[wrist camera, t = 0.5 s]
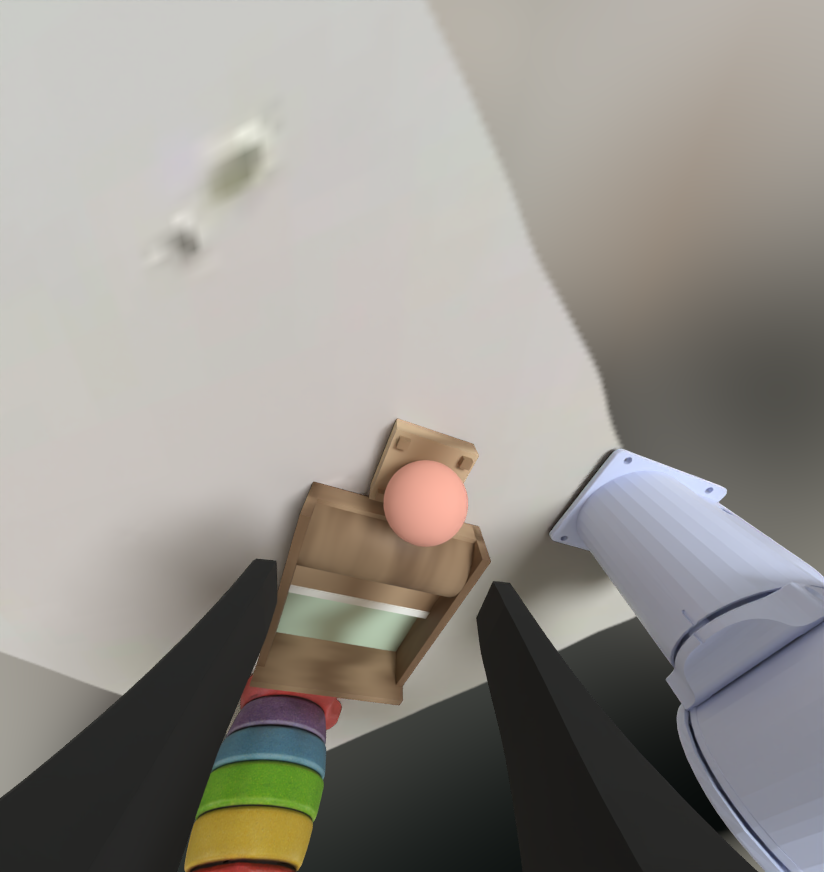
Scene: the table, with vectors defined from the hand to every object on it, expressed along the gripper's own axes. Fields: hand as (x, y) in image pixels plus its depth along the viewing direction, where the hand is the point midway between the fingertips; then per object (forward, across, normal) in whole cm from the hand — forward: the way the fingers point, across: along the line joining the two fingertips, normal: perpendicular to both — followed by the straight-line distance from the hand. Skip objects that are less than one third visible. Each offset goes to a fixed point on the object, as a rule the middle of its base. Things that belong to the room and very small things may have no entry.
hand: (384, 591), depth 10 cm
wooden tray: (+12, 0, +12) cm, 18 cm away
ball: (+6, -2, +1) cm, 6 cm away
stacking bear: (+10, +6, +29) cm, 31 cm away
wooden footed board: (+9, -2, +1) cm, 10 cm away
